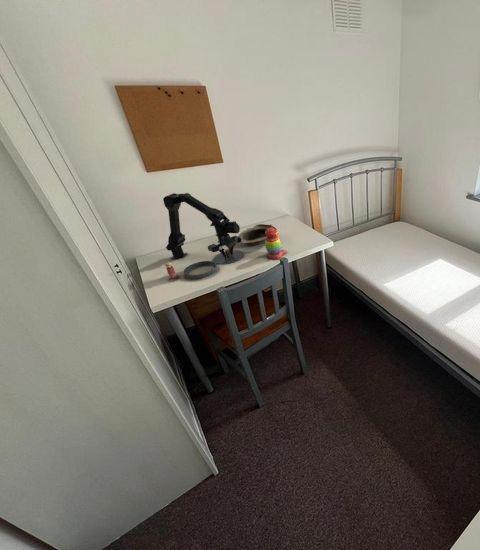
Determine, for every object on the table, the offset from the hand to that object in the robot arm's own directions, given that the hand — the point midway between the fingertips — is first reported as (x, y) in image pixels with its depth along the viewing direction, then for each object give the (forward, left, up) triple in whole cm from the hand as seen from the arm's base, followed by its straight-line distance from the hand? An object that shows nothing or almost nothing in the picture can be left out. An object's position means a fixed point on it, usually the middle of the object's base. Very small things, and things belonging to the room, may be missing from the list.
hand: (228, 256), depth 178 cm
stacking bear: (-1, +28, -2) cm, 28 cm away
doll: (+21, -23, -1) cm, 31 cm away
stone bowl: (-21, +13, -2) cm, 25 cm away
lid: (0, 0, -1) cm, 1 cm away
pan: (+16, -10, -1) cm, 19 cm away
